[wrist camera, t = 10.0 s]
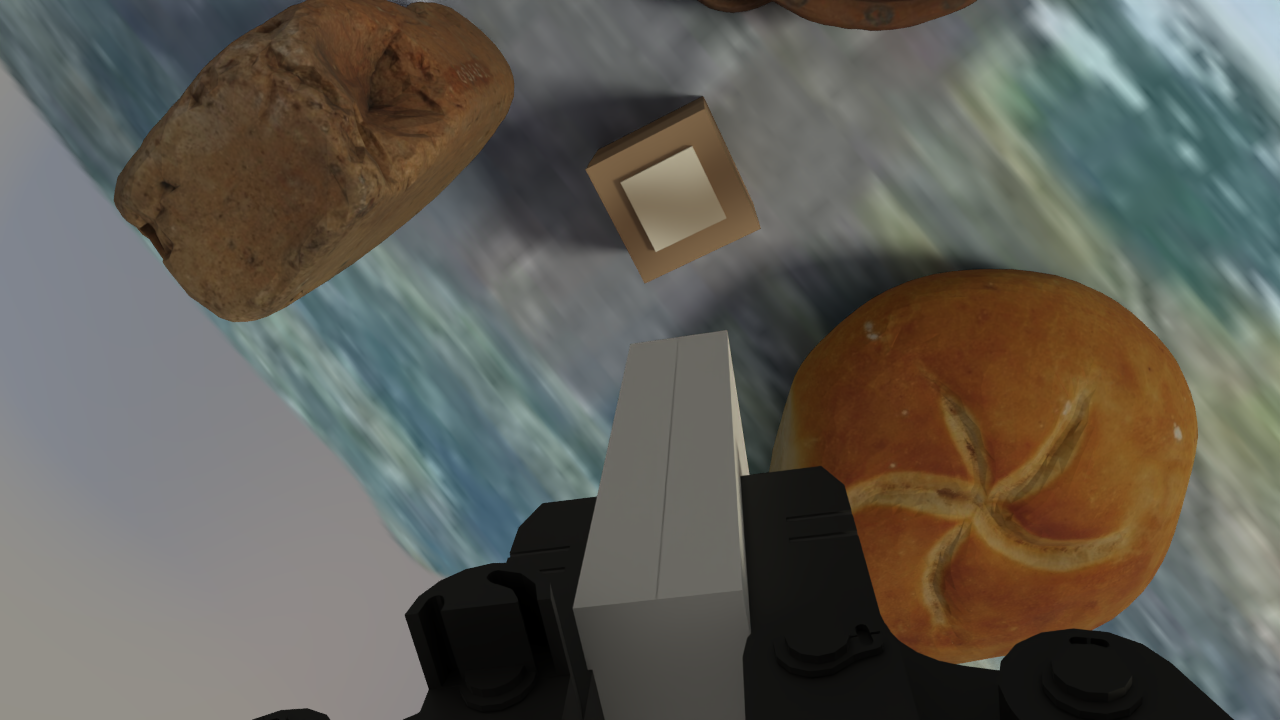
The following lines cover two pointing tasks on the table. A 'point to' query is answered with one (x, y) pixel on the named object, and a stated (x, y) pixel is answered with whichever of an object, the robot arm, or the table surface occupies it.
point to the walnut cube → (673, 190)
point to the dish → (854, 11)
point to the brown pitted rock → (311, 147)
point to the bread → (997, 454)
